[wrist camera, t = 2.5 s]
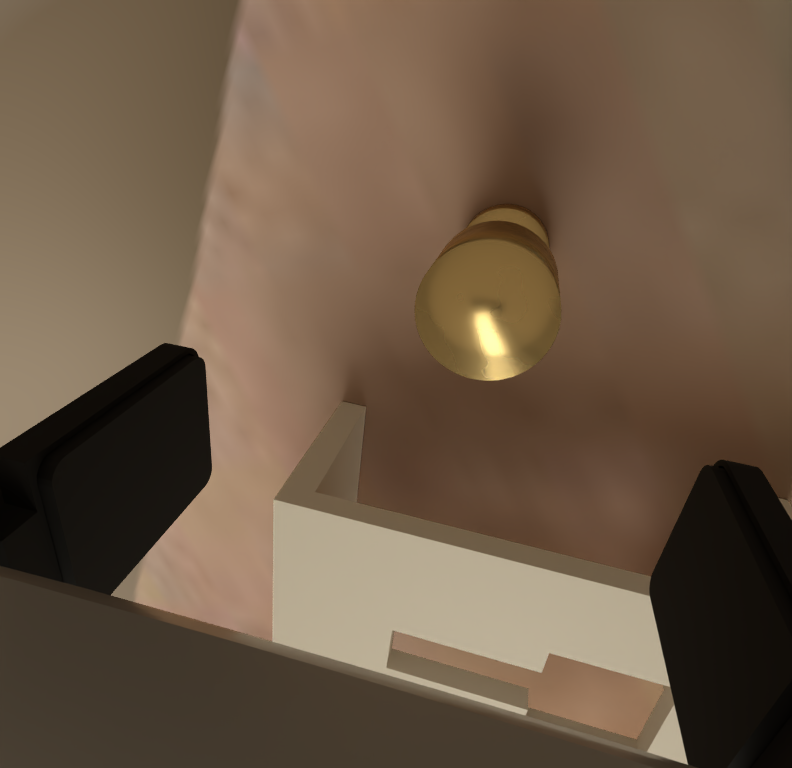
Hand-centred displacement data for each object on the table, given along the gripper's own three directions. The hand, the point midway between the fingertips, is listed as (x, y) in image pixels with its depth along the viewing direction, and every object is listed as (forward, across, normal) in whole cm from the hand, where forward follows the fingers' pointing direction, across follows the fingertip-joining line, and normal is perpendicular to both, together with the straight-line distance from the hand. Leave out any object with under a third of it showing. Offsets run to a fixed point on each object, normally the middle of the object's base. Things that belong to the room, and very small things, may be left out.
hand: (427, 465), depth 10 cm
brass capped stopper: (+20, 0, 0) cm, 20 cm away
